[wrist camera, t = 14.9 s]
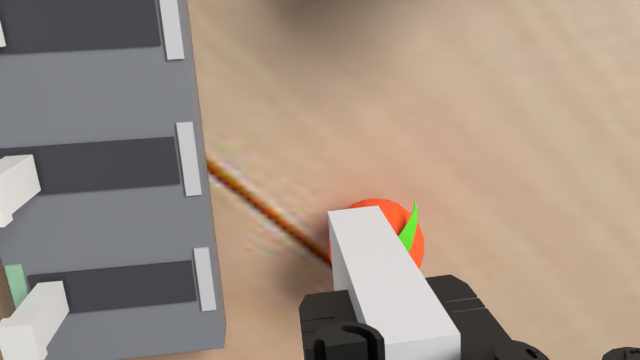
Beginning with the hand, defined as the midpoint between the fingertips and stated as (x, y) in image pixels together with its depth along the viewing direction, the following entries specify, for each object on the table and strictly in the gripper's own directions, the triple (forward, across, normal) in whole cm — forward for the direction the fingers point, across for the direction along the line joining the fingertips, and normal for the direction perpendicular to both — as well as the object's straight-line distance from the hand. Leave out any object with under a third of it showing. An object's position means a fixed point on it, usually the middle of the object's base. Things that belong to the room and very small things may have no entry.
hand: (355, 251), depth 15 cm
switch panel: (+23, +14, +1) cm, 27 cm away
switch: (+19, +18, +10) cm, 29 cm away
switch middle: (+19, +18, +1) cm, 26 cm away
